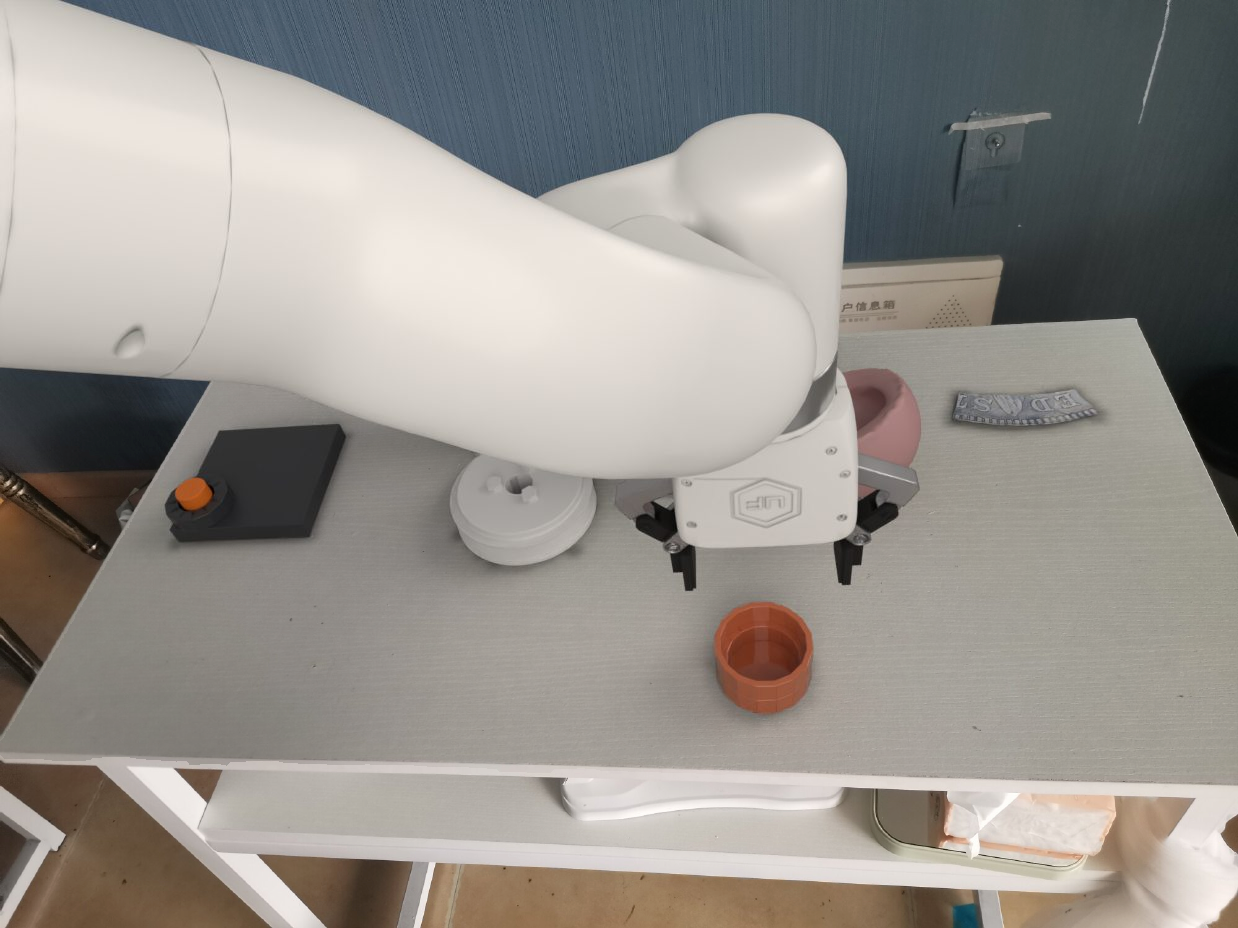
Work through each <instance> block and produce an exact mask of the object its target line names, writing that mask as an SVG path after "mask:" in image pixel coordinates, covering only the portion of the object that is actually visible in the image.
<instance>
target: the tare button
mask: <svg viewBox="0 0 1238 928" xmlns="http://www.w3.org/2000/svg"><path fill="white" fill-rule="evenodd" d="M176 488H177V489H176ZM176 488H175V489H176V491H175V497H176V498H177V500H178V501H179V502H180V504H181V505H182V506H183V508H184V509H186V510H188V511H195V510H197V509H199V508H202V507H204V506H205V505H206V504H207V503H208V502H209V501H210V500H211V499H212V495H213V494H212V491H211V489H210V488H209V487H208V485H207V484H206V482H205V481H204V480H203V479H201V478H193V477H191V478H188V479H185V480H184V481H182V482H181V483H180V484H179V485H178V486H177V487H176Z"/></svg>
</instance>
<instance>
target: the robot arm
mask: <svg viewBox="0 0 1238 928" xmlns="http://www.w3.org/2000/svg"><path fill="white" fill-rule="evenodd" d="M847 200H848V168H847V163H846V160H845V156H844V154H843V151H842V148H841V146H840V145H839V144H838V142H837V141H836V139H835V138H834V137H833V136H832V135H831V133H829V132H828V131H827V130H826V129H824V128H822V127H821V126H820V125H817V124H816V123H813V122H812V121H810V120H807V119H804V118H802V117H798V116H794V115H790V114H785V113H783V114H782V113H773V112H772V113H771V112H770V113H768V112H760V113H749V114H742V115H741V114H740V115H736V116H731V117H728V118H724V119H721V120H717V121H715V122H712V123H711V124H708V125H706V126H704V127H703V128H700V129H699V130H697V131H696V132H695V133H693V134H691V135H690V136H689V137H688V138H687V139H685V141H683V142H682V143H681V145H680V146H679V147H678V148H677V149H676V150H675V151H673V152H670V153H668V154H665V155H662V156H659V157H655V158H653V159H650V160H647V161H643V162H639V163H637V164H632V165H630V166H626V167H622V168H619V169H616V170H615V169H614V170H613V171H612V170H611V171H608V172H605V173H600V174H597V175H594V176H593V175H592V176H589V177H586V178H582V179H579V180H576V181H573V182H570V183H567V184H564V185H562V186H559V187H556V188H554V189H551V190H549V191H547V192H545V193H543V194H541V195H540V196H537V197H536V198H535V197H533V196H531V195H529V194H527V193H525V192H523V191H521V190H519V189H517V188H514V187H512V186H510V185H509V184H508V183H505V182H503V181H501V180H500V179H497V178H495V177H493V176H492V175H490V174H488V173H486V172H484V171H482V170H481V169H479V168H478V167H475V166H474V165H472V164H470V163H469V162H467V161H465V160H463V159H461V158H459V157H458V156H457V155H455V154H453V153H452V152H450V151H448V150H446V149H445V148H442V147H441V146H439V145H437V144H436V143H435V142H432V140H429V139H427V138H425V137H424V136H422V135H420V134H419V133H417V132H415V131H413V130H412V129H410V128H409V127H406V126H404V125H402V124H400V123H399V122H397V121H395V120H393V119H391V118H389V117H387V116H385V115H382V114H380V113H378V112H376V111H374V110H372V109H370V108H368V107H366V106H365V105H362V104H360V103H357V102H355V101H353V100H351V99H348V98H346V97H344V96H342V95H340V94H338V93H336V92H333V91H331V90H329V89H326V88H324V87H323V86H322V87H321V86H320V85H316V84H314V83H312V82H310V81H308V80H306V79H304V78H301V77H298V76H295V75H293V74H289V73H286V72H283V71H279V70H277V69H273V68H270V67H267V66H264V65H261V64H258V63H254V62H251V61H249V60H245V59H242V58H239V57H236V56H232V55H230V54H226V53H223V52H220V51H218V50H214V49H211V48H209V47H205V46H202V45H198V44H196V43H193V42H190V41H187V40H180V39H178V38H175V37H171V36H168V35H166V34H164V33H163V34H162V33H160V32H156V31H153V30H151V29H147V28H144V27H141V26H138V25H135V24H132V23H129V22H126V21H123V20H120V19H117V18H114V17H111V16H108V15H105V14H102V13H99V12H97V11H94V10H91V9H88V8H84V7H81V6H78V5H75V4H72V3H69V2H66V1H63V0H0V368H5V369H21V370H34V371H35V370H37V371H52V372H67V373H80V374H81V373H82V374H95V375H96V374H97V375H110V376H111V375H113V376H125V377H126V376H127V377H141V378H142V377H143V378H155V379H167V380H169V379H170V380H182V381H183V380H188V381H201V382H203V381H204V382H217V383H229V384H242V385H251V386H258V387H264V388H270V389H276V390H279V391H283V392H287V393H291V394H293V395H296V396H299V397H302V398H305V399H308V400H311V401H313V402H316V403H318V404H321V405H323V406H326V407H327V408H328V407H329V408H330V409H333V410H336V411H338V412H341V413H343V414H347V415H349V416H352V417H355V418H357V419H362V420H364V421H368V422H370V423H373V424H377V425H380V426H384V427H387V428H390V429H391V428H392V429H394V430H398V431H401V432H405V433H409V434H413V435H416V436H419V437H422V438H423V437H424V438H427V439H431V440H434V441H437V442H441V443H443V444H447V445H451V446H454V447H457V448H460V449H464V450H466V451H470V452H474V453H477V454H479V455H480V454H483V455H487V456H490V457H493V458H497V459H500V460H504V461H508V462H511V463H515V464H519V465H523V466H526V467H530V468H535V469H540V470H544V471H549V472H554V473H559V474H564V475H572V476H579V477H586V478H592V479H598V480H600V479H601V480H626V481H623V482H620V483H618V484H617V485H616V487H615V495H614V506H615V507H616V509H618V510H619V511H620V512H621V513H622V514H623V515H624V516H625V517H626V518H627V519H628V520H630V521H631V520H632V521H633V522H634V523H635V529H636V530H637V531H638V532H641V533H642V534H644V535H647V536H649V537H650V538H653V539H654V540H656V541H658V542H660V543H662V549H663V551H664V552H666V553H669V557H670V561H671V568H672V569H671V570H672V573H675V574H677V573H678V574H679V573H682V578H683V585H684V591H685V592H694V589H695V590H696V589H697V552H696V551H697V549H696V547H697V548H702V549H738V548H765V547H767V548H768V547H769V548H770V547H788V546H803V545H804V546H805V545H806V546H807V545H822V544H828V543H833V554H834V555H833V556H834V560H835V562H834V563H835V569H836V576H837V583H838V584H841V586H851V585H852V575H853V574H852V573H853V566H862V565H863V564H862V563H863V553H864V546H865V545H868V544H870V543H871V541H872V534H873V533H874V532H876V531H877V530H879V529H881V528H883V527H884V526H886V525H887V524H890V523H891V522H893V521H894V520H896V519H898V517H899V516H900V515H899V514H900V512H899V511H900V509H902V507H903V508H905V506H907V504H908V503H909V502H910V501H911V500H912V499H913V498H915V496H916V495H917V494H918V493H919V492H920V490H921V487H920V482H919V478H918V474H917V471H916V469H914V468H912V467H910V466H909V467H905V466H902V465H899V464H895V463H892V462H888V461H885V460H882V459H878V458H875V457H872V456H868V455H865V454H861V453H858V443H857V427H856V420H855V412H854V407H853V403H852V398H851V395H850V392H849V389H848V387H847V383H846V380H845V378H844V376H843V374H842V373H843V372H842V371H841V369H840V368H839V367H838V353H839V333H840V317H841V301H842V288H843V287H842V286H843V268H844V253H845V252H844V251H845V234H846V218H847V217H846V216H847ZM858 484H860V485H864V486H867V487H870V488H874V489H877V490H875V491H874V492H872V493H870V494H869V495H867V496H866V497H864V498H861V497H859V496H858ZM671 494H672V496H673V501H672V502H671V504H669V505H668V506H667V507H665V506H663V505H661V504H659V502H658V503H657V502H656V501H657V500H659V499H661V498H664V497H667V496H669V495H671Z"/></svg>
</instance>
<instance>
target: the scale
mask: <svg viewBox="0 0 1238 928" xmlns="http://www.w3.org/2000/svg"><path fill="white" fill-rule="evenodd" d="M346 437H347V436H346V434H345V432H344V430H343V428H342V426H341V424H340V423H326V424H308V425H291V426H275V427H274V426H273V427H257V428H256V427H255V428H238V429H237V428H236V429H224V430H220V429H219V430H218V432H217V434H216V436H215V438H214V439H213V442H212V444H211V445H210V448H209V449H208V452H207V454H206V456H205V458H204V460H203V462H202V464H201V466H200V468H199V470H198V472H197V474H196V475H195V476H193V477H192V478H201V479H203V480H204V481H205V482H206V484H207V485H208V487H209V488H210V489H211V491H212V494H213V495H212V499H211V500H210V501H209V502H208V503H207V504H206V505H205V506H204V507H202V508H199V509H197V510H195V511H188V510H186V509H184V508H183V506H182V505H181V504H180V502H179V501H178V500H177V498H176V497H175V491H176V489H177V487H175V488H174V489H173V490H171V491H170V493H169V495H168V497H167V499H166V501H165V503H164V510H165V515H166V517H167V518H168V519H169V521H170V522H171V523H172V524H171V526H170V528H169V531H170V533H171V534H172V535H173V536H174V538H175V539H176V540H177V542H178V543H194V542H197V543H198V542H217V541H218V542H219V541H221V542H222V541H242V540H243V541H244V540H266V539H269V540H270V539H291V538H294V539H295V538H310V536H311V533H312V532H313V528H314V526H315V523H316V520H317V518H318V515H319V513H320V510H321V506H322V503H323V501H324V498H325V495H326V494H327V493H326V492H327V490H328V487H329V484H330V481H331V479H332V476H333V473H334V471H335V467H336V465H337V462H338V459H339V457H340V454H341V451H342V448H343V446H344V443H345V440H346Z"/></svg>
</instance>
